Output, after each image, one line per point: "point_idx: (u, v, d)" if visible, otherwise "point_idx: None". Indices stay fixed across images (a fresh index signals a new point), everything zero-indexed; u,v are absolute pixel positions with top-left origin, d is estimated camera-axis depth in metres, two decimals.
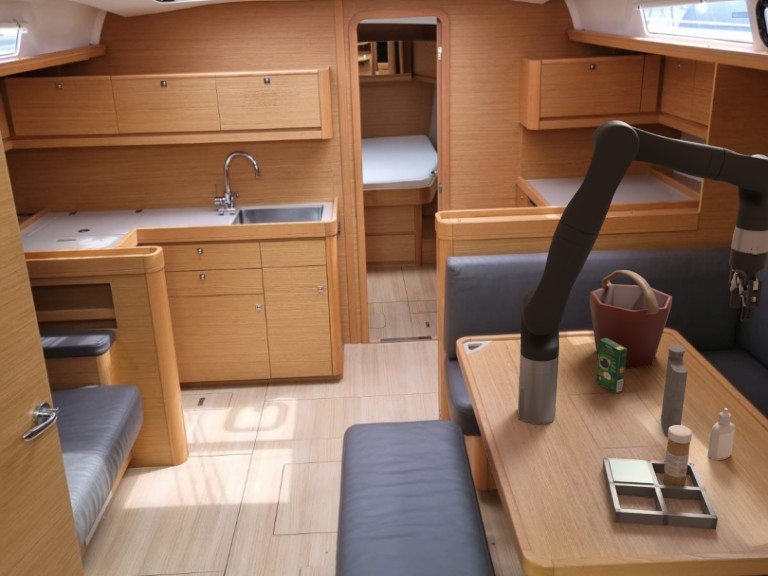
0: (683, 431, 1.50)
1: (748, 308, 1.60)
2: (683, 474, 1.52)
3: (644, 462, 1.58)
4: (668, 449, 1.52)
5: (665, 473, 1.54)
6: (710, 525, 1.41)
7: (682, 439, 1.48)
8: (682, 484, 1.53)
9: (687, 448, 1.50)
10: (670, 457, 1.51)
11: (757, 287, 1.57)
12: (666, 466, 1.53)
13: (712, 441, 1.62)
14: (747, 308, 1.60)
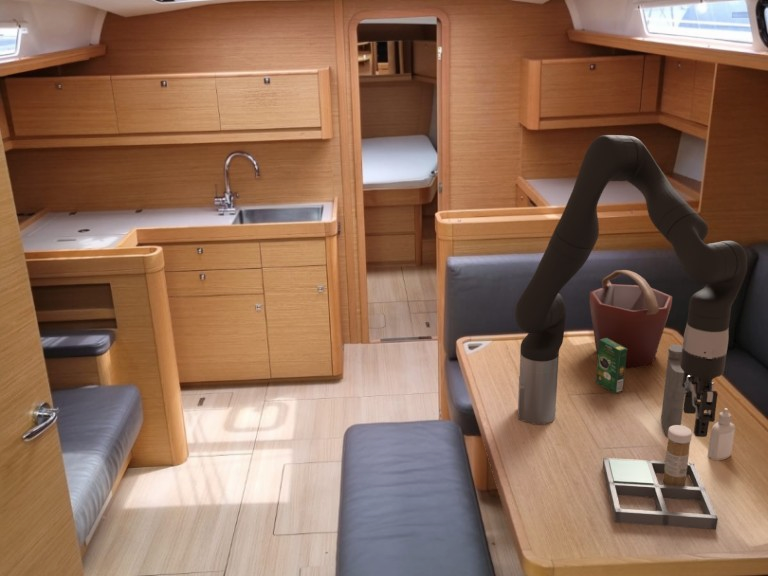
0: (683, 431, 1.50)
1: (702, 421, 1.33)
2: (683, 474, 1.52)
3: (644, 462, 1.58)
4: (668, 449, 1.52)
5: (665, 473, 1.54)
6: (710, 525, 1.41)
7: (682, 439, 1.48)
8: (682, 484, 1.53)
9: (687, 448, 1.50)
10: (670, 457, 1.51)
11: (712, 399, 1.30)
12: (666, 466, 1.53)
13: (712, 441, 1.62)
14: (701, 421, 1.33)
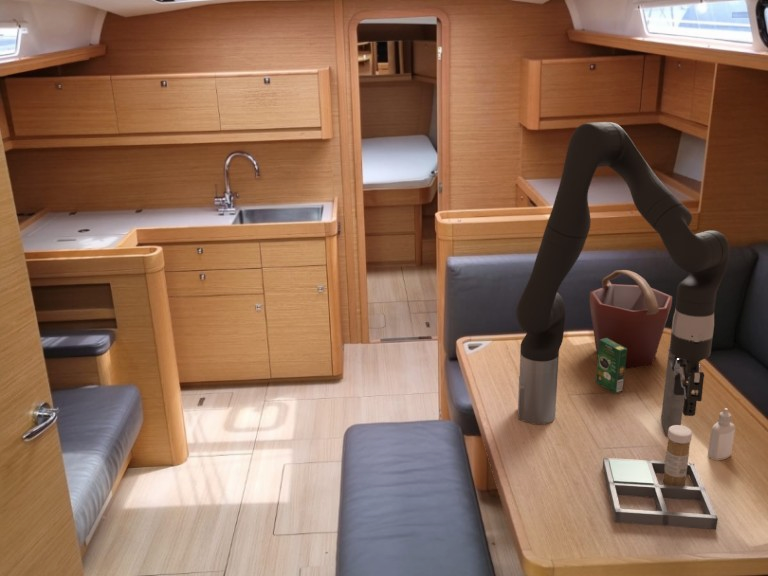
0: (683, 431, 1.50)
1: (690, 401, 1.42)
2: (683, 474, 1.52)
3: (644, 462, 1.58)
4: (668, 449, 1.52)
5: (665, 473, 1.54)
6: (710, 525, 1.41)
7: (682, 439, 1.48)
8: (682, 484, 1.53)
9: (687, 448, 1.50)
10: (670, 457, 1.51)
11: (699, 379, 1.39)
12: (666, 466, 1.53)
13: (712, 441, 1.62)
14: (689, 401, 1.42)
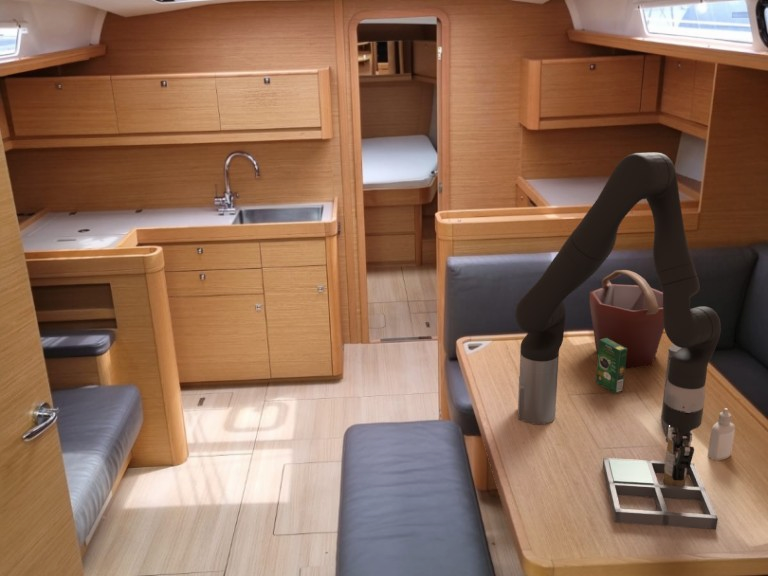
0: None
1: (679, 467, 1.49)
2: None
3: (644, 462, 1.58)
4: (668, 449, 1.52)
5: (665, 473, 1.54)
6: (710, 525, 1.41)
7: None
8: (682, 484, 1.53)
9: None
10: (670, 457, 1.51)
11: (688, 454, 1.45)
12: (666, 466, 1.53)
13: (712, 441, 1.62)
14: (678, 467, 1.49)
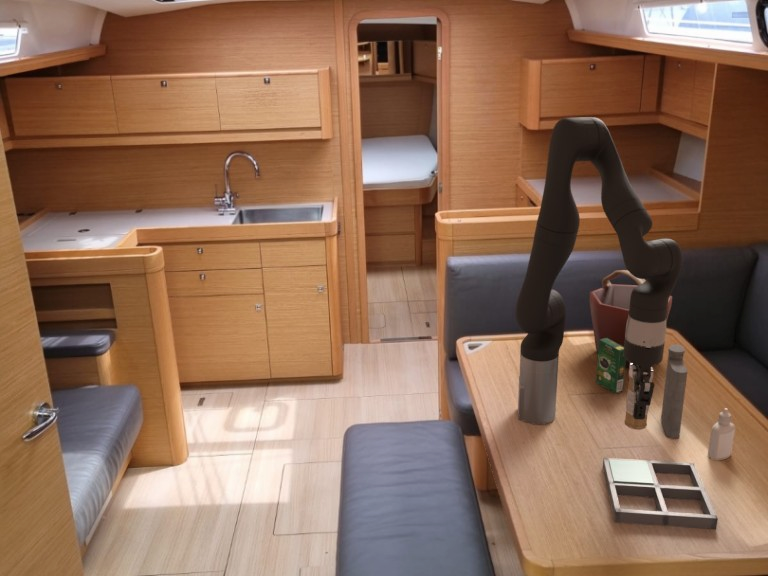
0: None
1: (640, 405, 1.46)
2: None
3: (644, 462, 1.58)
4: (629, 388, 1.48)
5: (627, 413, 1.50)
6: (710, 525, 1.41)
7: None
8: (644, 423, 1.49)
9: None
10: (631, 396, 1.48)
11: (649, 389, 1.41)
12: (627, 405, 1.50)
13: (712, 441, 1.62)
14: (639, 405, 1.46)
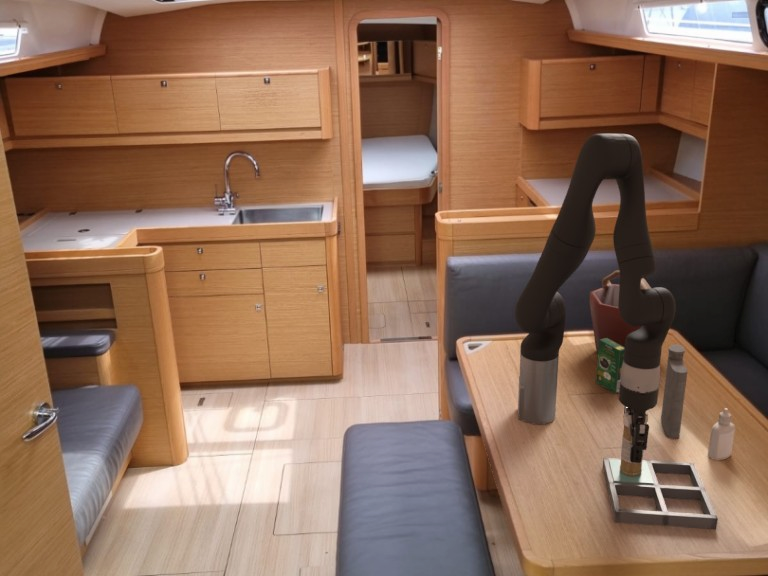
0: None
1: (636, 449, 1.48)
2: None
3: (644, 462, 1.58)
4: (623, 435, 1.52)
5: (622, 459, 1.54)
6: (710, 525, 1.41)
7: None
8: (638, 470, 1.53)
9: None
10: (626, 443, 1.51)
11: (644, 431, 1.44)
12: (622, 452, 1.53)
13: (712, 441, 1.62)
14: (635, 449, 1.48)
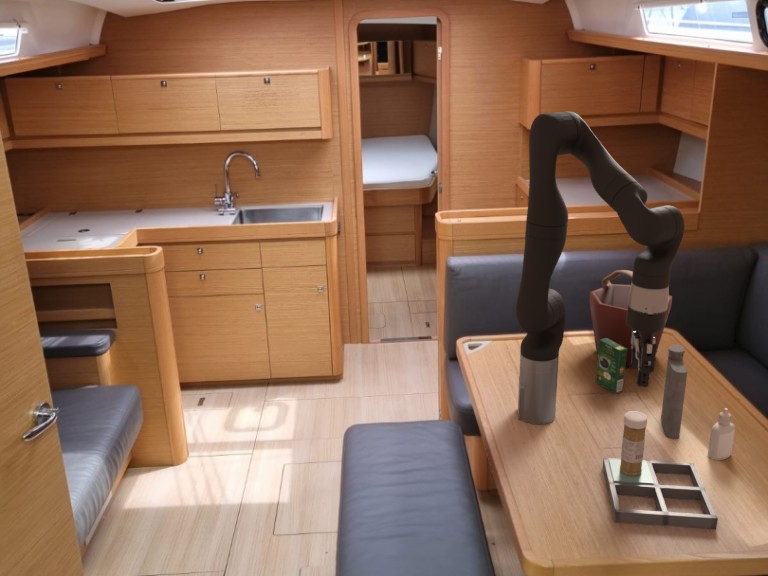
0: (639, 417, 1.50)
1: (643, 372, 1.46)
2: (639, 460, 1.52)
3: (644, 462, 1.58)
4: (624, 435, 1.52)
5: (622, 459, 1.54)
6: (710, 525, 1.41)
7: (637, 425, 1.49)
8: (638, 470, 1.53)
9: (642, 434, 1.50)
10: (626, 443, 1.51)
11: (651, 351, 1.42)
12: (622, 452, 1.53)
13: (712, 441, 1.62)
14: (642, 372, 1.46)
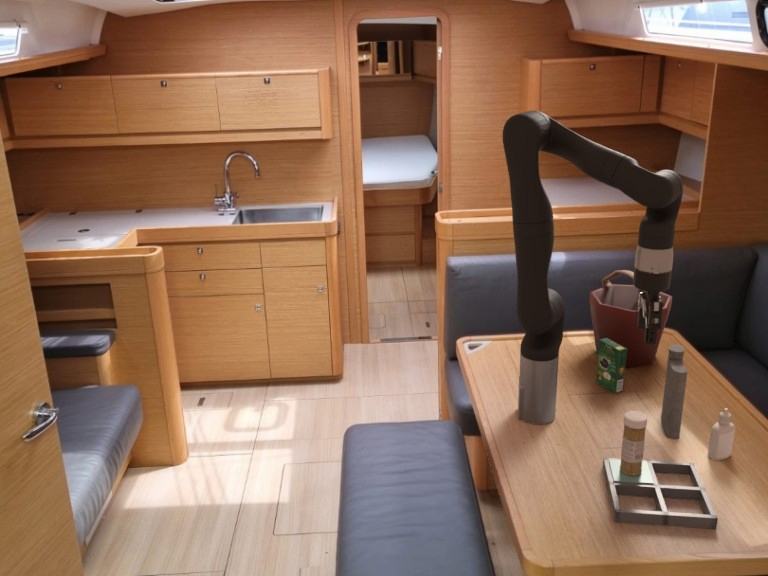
0: (639, 417, 1.50)
1: (651, 330, 1.53)
2: (639, 460, 1.52)
3: (644, 462, 1.58)
4: (624, 435, 1.52)
5: (622, 459, 1.54)
6: (710, 525, 1.41)
7: (637, 425, 1.49)
8: (638, 470, 1.53)
9: (642, 434, 1.50)
10: (626, 443, 1.51)
11: (658, 308, 1.50)
12: (622, 452, 1.53)
13: (712, 441, 1.62)
14: (650, 330, 1.53)
